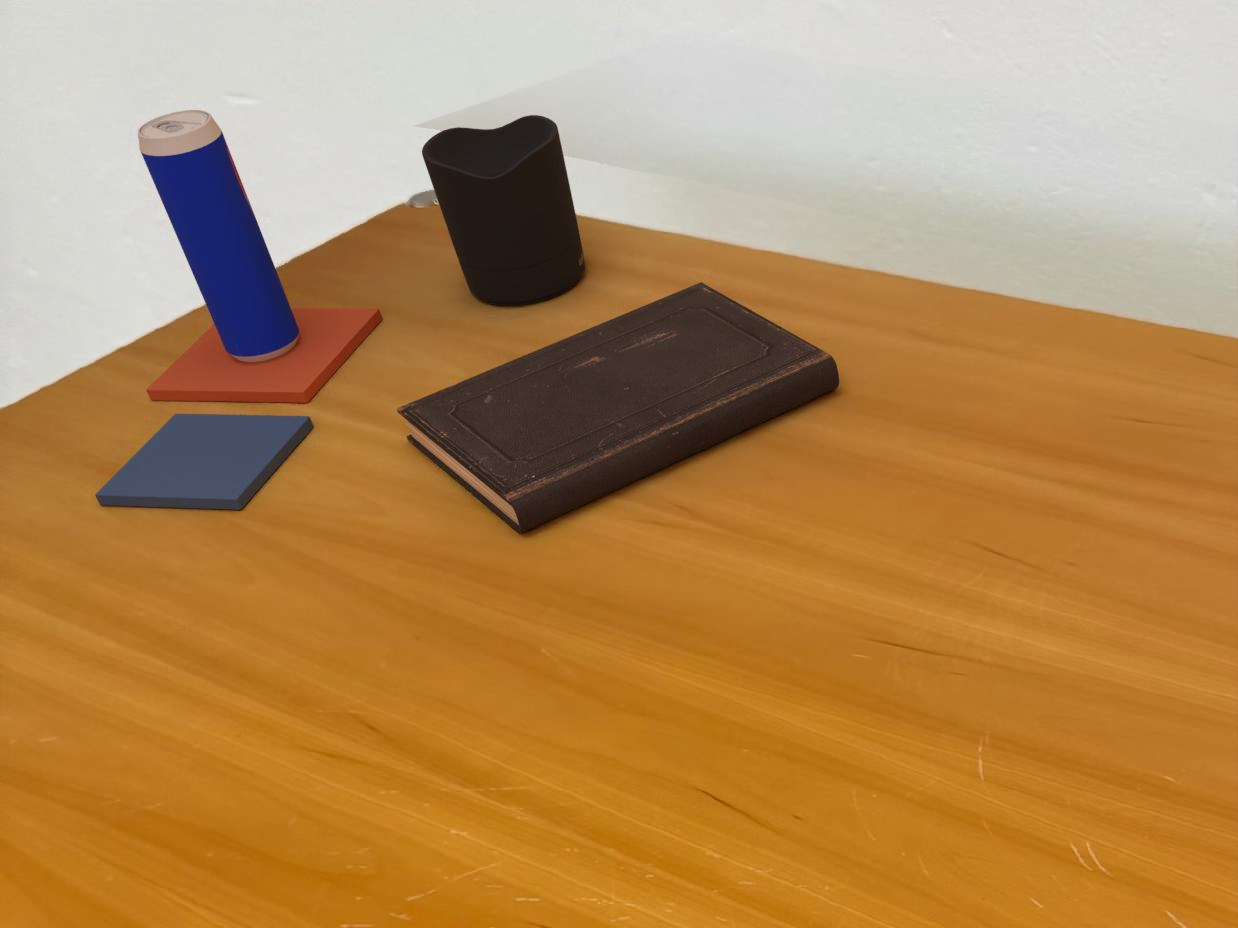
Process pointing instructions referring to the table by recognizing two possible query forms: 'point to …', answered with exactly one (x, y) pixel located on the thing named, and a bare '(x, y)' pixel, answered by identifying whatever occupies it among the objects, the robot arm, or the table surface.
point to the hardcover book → (615, 403)
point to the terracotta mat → (269, 362)
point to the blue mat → (205, 461)
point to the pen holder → (508, 209)
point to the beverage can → (219, 234)
